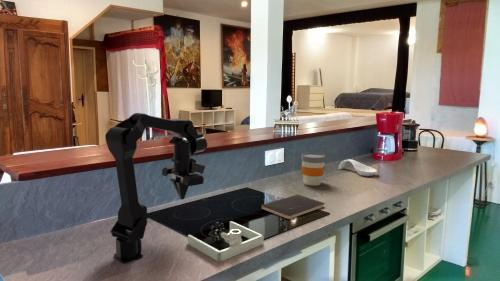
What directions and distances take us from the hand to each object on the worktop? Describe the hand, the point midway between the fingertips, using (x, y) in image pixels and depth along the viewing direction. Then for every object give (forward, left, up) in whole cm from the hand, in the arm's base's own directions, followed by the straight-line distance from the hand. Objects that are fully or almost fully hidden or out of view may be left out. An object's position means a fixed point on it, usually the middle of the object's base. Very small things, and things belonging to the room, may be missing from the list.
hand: (182, 199), depth 132 cm
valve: (+4, -20, -12) cm, 24 cm away
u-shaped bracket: (+5, -18, -12) cm, 22 cm away
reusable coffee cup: (+86, +8, -12) cm, 87 cm away
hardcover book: (+49, -10, -13) cm, 51 cm away
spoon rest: (+124, +5, -12) cm, 125 cm away
